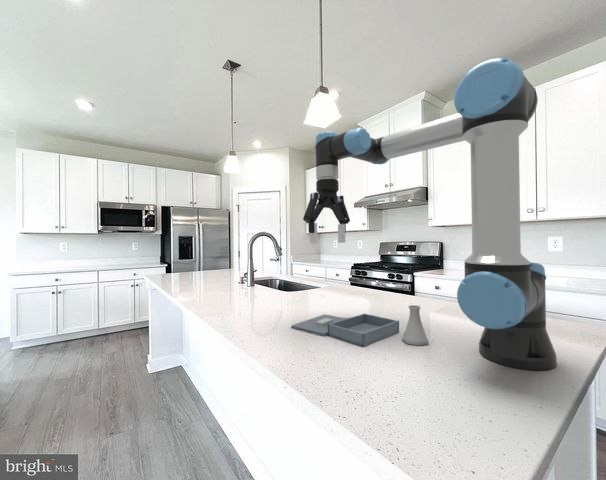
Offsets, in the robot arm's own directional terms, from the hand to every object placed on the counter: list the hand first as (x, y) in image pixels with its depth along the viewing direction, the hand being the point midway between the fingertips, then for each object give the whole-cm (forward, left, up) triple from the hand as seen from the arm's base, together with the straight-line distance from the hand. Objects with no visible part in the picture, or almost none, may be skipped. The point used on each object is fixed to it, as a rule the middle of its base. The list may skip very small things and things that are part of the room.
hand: (328, 243), depth 99 cm
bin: (-13, -1, -28) cm, 31 cm away
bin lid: (+2, +1, -28) cm, 28 cm away
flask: (-27, -6, -28) cm, 40 cm away
